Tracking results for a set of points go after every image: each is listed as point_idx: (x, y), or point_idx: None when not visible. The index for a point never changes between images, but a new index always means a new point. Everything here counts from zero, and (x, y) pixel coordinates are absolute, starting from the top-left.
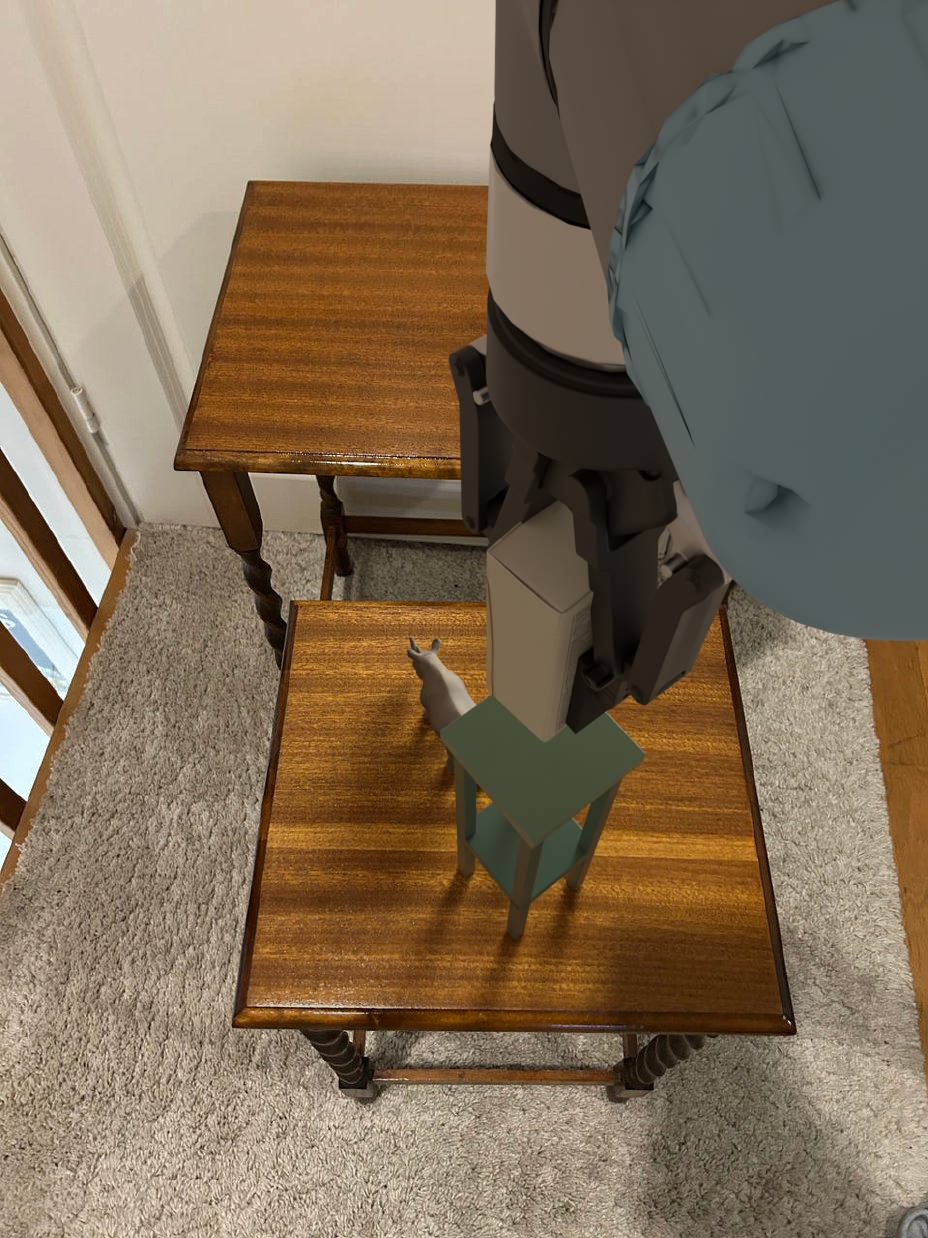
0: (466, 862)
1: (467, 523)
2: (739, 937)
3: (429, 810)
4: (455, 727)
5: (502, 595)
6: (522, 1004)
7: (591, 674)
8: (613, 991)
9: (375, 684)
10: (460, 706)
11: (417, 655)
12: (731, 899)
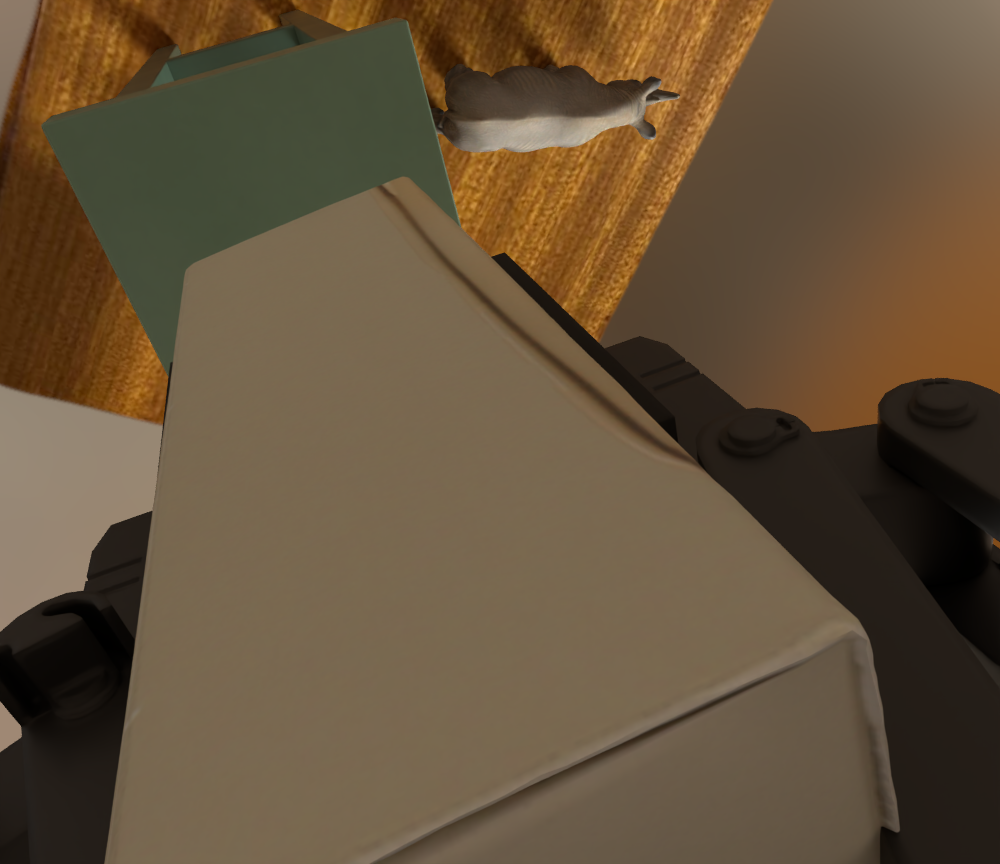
0: (285, 21)
1: (947, 401)
2: (79, 367)
3: (405, 5)
4: (401, 62)
5: (543, 492)
6: (48, 16)
7: (73, 644)
8: (39, 166)
9: (635, 8)
10: (534, 125)
11: (644, 92)
12: (135, 378)
